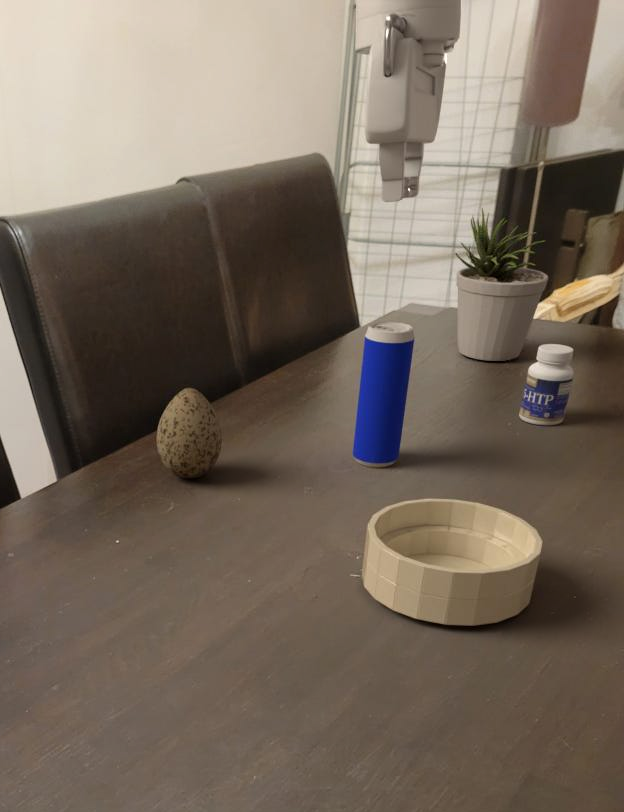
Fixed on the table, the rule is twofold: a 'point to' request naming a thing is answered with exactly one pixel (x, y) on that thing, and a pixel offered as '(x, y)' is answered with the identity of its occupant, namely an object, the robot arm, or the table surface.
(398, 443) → the beverage can
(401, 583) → the bowl
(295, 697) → the table surface
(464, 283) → the potted plant
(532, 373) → the pill bottle
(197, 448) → the decorative egg
